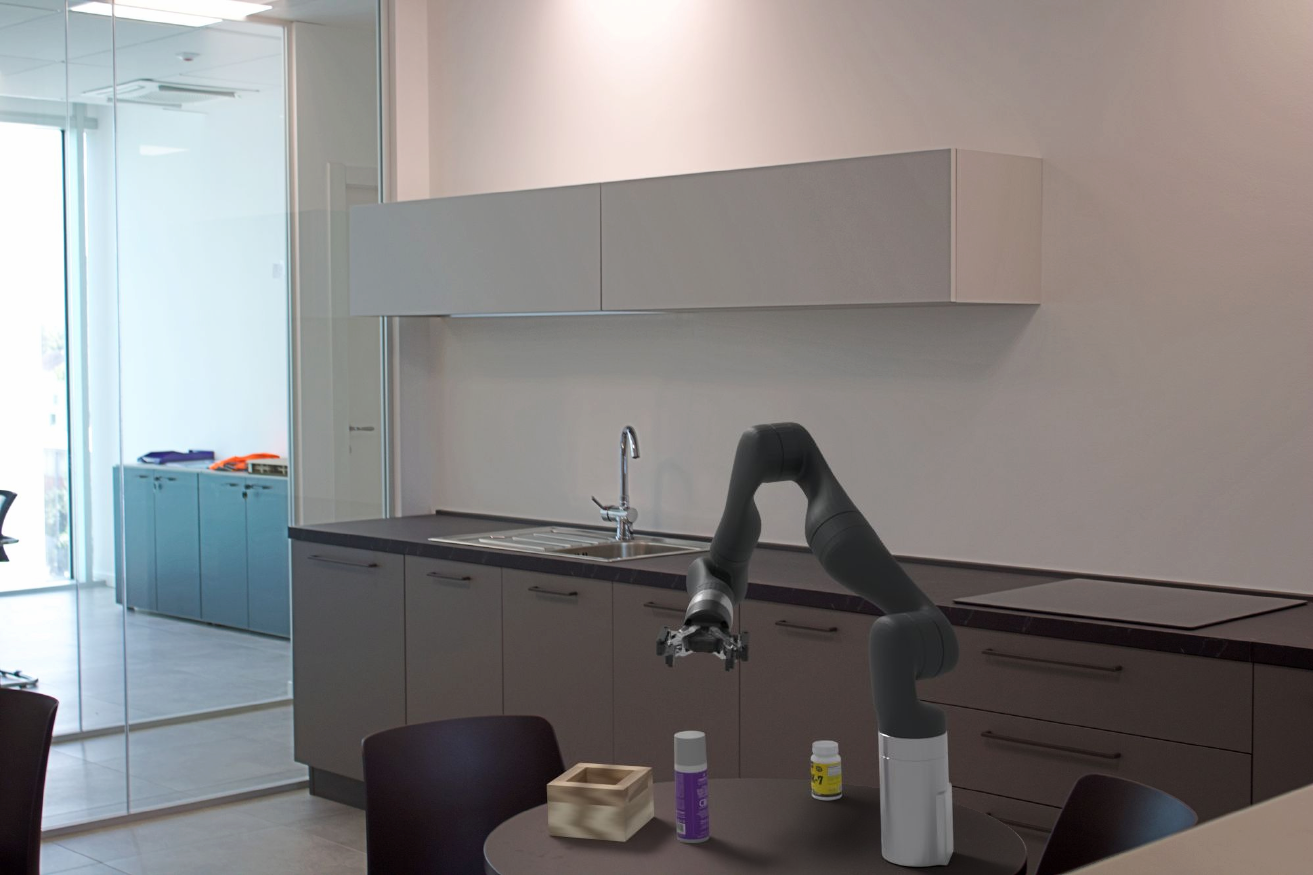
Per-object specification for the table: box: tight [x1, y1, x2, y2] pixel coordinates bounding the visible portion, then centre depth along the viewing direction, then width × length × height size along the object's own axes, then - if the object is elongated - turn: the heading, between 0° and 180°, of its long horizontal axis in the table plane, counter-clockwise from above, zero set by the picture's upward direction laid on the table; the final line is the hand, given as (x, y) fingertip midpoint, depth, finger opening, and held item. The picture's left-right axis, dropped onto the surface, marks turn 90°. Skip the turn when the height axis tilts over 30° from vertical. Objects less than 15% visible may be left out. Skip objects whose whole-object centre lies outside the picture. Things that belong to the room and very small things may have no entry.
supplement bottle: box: [810, 740, 843, 801], centre depth 217 cm, size 5×5×8 cm
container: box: [673, 730, 710, 844], centre depth 199 cm, size 5×5×15 cm
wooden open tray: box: [546, 762, 655, 843], centre depth 206 cm, size 12×12×8 cm
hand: (699, 663), depth 206 cm, fingers open, 8 cm apart
